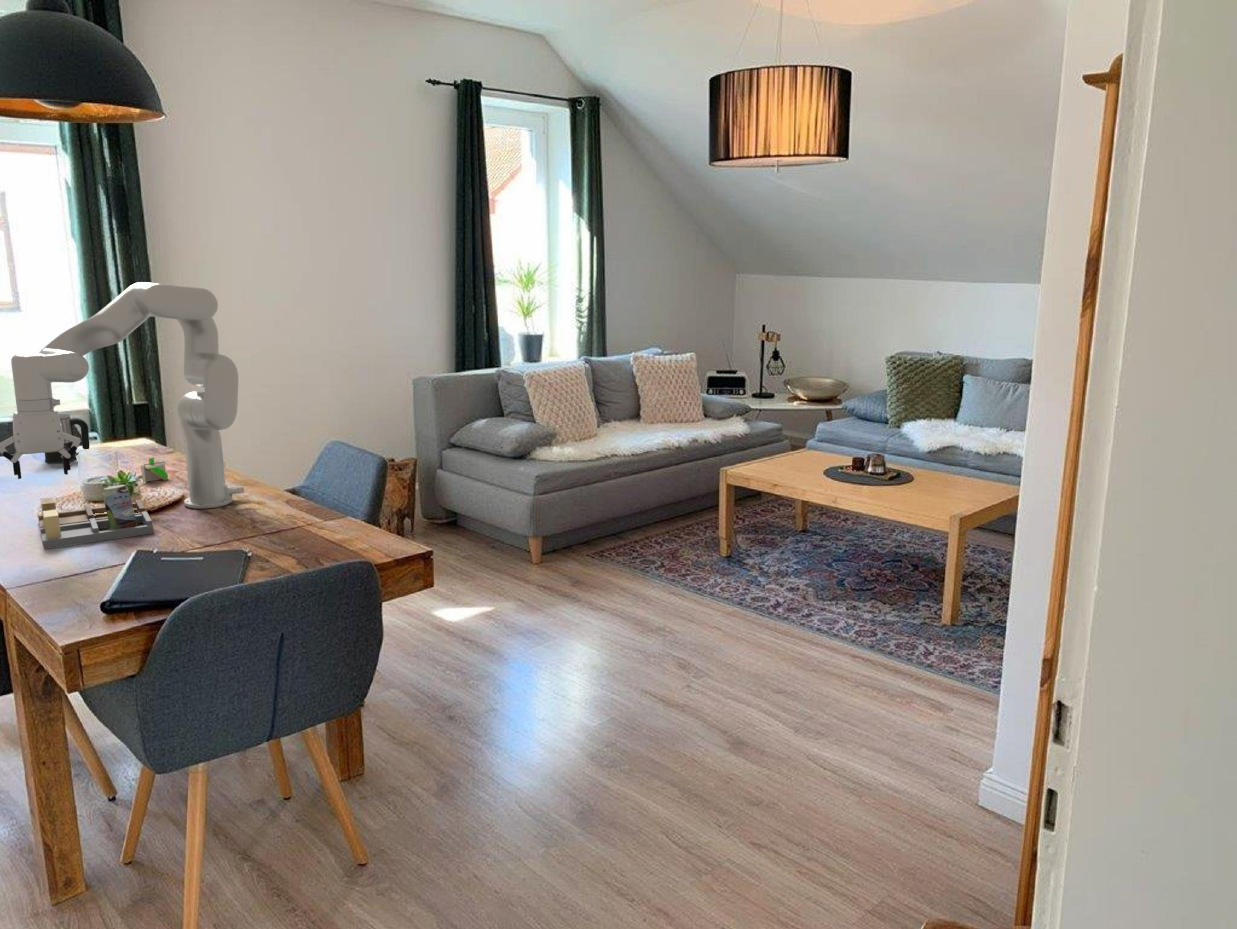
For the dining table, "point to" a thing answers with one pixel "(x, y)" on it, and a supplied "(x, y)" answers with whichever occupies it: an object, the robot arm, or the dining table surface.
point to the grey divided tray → (87, 530)
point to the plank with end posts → (78, 512)
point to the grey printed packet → (119, 507)
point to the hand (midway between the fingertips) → (43, 475)
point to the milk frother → (67, 428)
